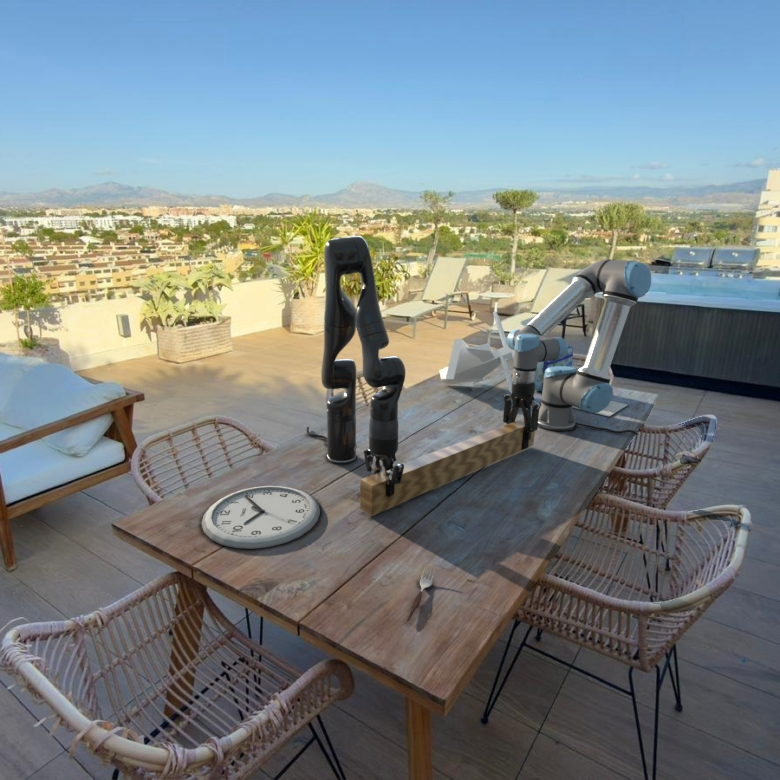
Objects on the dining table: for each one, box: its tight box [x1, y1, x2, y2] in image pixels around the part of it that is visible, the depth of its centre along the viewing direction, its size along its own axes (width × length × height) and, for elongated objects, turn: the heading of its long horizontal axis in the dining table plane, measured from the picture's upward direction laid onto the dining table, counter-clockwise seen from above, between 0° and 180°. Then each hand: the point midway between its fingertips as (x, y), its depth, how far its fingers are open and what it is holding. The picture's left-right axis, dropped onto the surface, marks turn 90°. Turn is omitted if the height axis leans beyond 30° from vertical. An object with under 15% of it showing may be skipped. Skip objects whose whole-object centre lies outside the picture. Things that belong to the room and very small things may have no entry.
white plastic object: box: [438, 310, 514, 394], centre depth 245 cm, size 37×45×31 cm
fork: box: [406, 565, 436, 622], centre depth 107 cm, size 3×16×2 cm, turn 160°
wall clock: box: [201, 485, 321, 550], centre depth 137 cm, size 30×2×30 cm
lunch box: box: [535, 345, 574, 392], centre depth 248 cm, size 26×11×21 cm, turn 134°
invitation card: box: [573, 400, 629, 418], centre depth 226 cm, size 21×1×15 cm
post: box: [359, 417, 536, 517], centre depth 159 cm, size 73×5×9 cm, turn 131°
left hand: (383, 491), depth 140 cm, fingers closed on post, 5 cm apart
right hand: (518, 445), depth 180 cm, fingers closed on post, 5 cm apart
